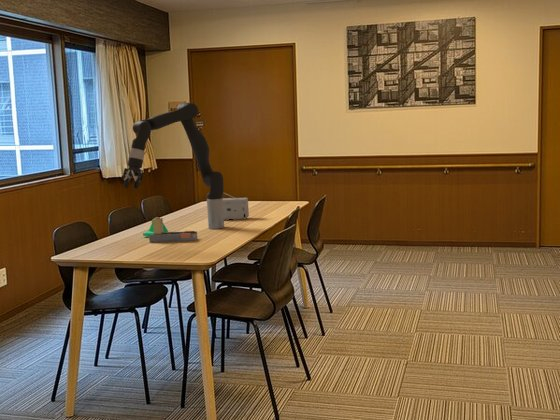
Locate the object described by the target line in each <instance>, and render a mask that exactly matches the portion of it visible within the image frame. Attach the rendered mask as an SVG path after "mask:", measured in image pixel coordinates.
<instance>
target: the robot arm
mask: <svg viewBox="0 0 560 420" xmlns="http://www.w3.org/2000/svg"><path fill="white" fill-rule="evenodd" d="M198 114H199V107H198V105H197V104H195V103H193V102H183V103H179V104H178V105H177V108H176V109H175V110H172V111H168V112H164V113H161V114H157V115H154V116H152V117H150V118H145V119H141V120H137V121H136V122H134V123H133V125H132V131H133V132H134V134H136V135H137V136H136V137H135V138H133V139H132V142H131V148H130V152H129V156H128V161H127V166H128V168H126V167H125V168H124V170H123V175H122V177H121V178H122V180H123V181H124V183H123V188H124V189H128V188H129V183H130V180H131V179H132V178H133V179H134V183H133V186H132V187H133V190H138V189H139V185H140V184H139V183H140V182H142V181H143V177H144V173H145V171H144V169H143V163H144V159H145V149H146V144H147V141H148V140H149V137H150V134H151V132H152V131H157V130H160V129H162V128H164V127H167V126H169V125H172V124H175V123H178V122H181V125H182V127H183V128H184V131H185V134H186V137H187V139H188V140H189V144H190V147H191V149H192V153H193V154H194V158H195V159H196V162H197V165H198V168H199V171H200V175H201V178H202V182H203V184H204V185H205V186H206V187H208V188H210V189H209V190H210V191H209V192H208V193H206V209H207V223H208V224H207V225H208V229H210V230H217V229H218V230H219V229H224V228H225V220H224V213H223V198H224V197H223V194H224V193H225V192H224V191H225V190H224V177H223V174H222V172H220V171H217V170H216V171H215V170H213V169H212V166H211V163H210V146H209V144H208V142H207V139H206V137H205V135H204V134H203V133H202V131H201V130H200V129H199V128H198V127H197V125H196V123H195V122H194V119H195V118H196V117H198ZM223 192H224V193H223Z"/></svg>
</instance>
